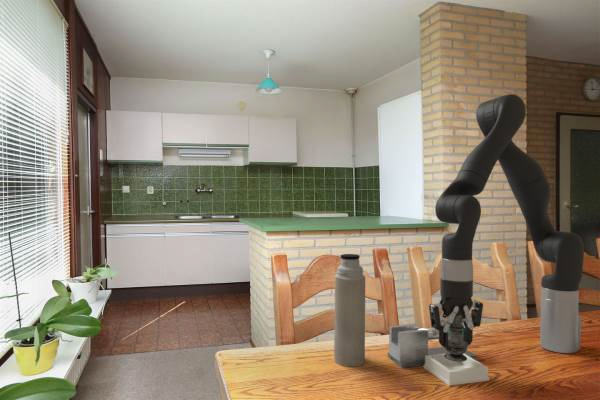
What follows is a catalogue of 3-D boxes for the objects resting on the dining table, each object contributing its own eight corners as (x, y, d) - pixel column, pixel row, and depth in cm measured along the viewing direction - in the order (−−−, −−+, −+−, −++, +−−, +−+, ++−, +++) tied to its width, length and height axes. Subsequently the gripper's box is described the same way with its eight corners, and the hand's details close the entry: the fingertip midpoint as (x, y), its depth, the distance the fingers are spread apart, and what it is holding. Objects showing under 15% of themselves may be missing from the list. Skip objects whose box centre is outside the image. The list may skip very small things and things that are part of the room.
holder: (461, 362, 116) (461, 351, 116) (489, 380, 106) (489, 367, 106) (423, 367, 113) (423, 355, 113) (449, 385, 103) (449, 372, 103)
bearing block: (458, 348, 127) (458, 318, 126) (476, 359, 119) (477, 327, 119) (387, 356, 121) (387, 325, 120) (402, 367, 113) (402, 334, 113)
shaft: (454, 337, 124) (454, 319, 124) (465, 343, 120) (465, 324, 119) (413, 341, 121) (413, 322, 121) (423, 347, 116) (423, 328, 116)
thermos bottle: (346, 352, 123) (347, 251, 122) (370, 360, 118) (371, 254, 117) (328, 360, 117) (328, 254, 117) (352, 369, 112) (353, 258, 111)
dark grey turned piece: (470, 363, 106) (471, 313, 106) (444, 360, 107) (445, 311, 107) (466, 354, 112) (467, 306, 112) (441, 352, 113) (442, 305, 113)
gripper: (472, 272, 115) (471, 337, 115) (422, 275, 111) (421, 342, 111) (492, 278, 107) (490, 347, 108) (439, 281, 103) (438, 353, 104)
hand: (455, 344), depth 110 cm, fingers closed on dark grey turned piece, 6 cm apart
